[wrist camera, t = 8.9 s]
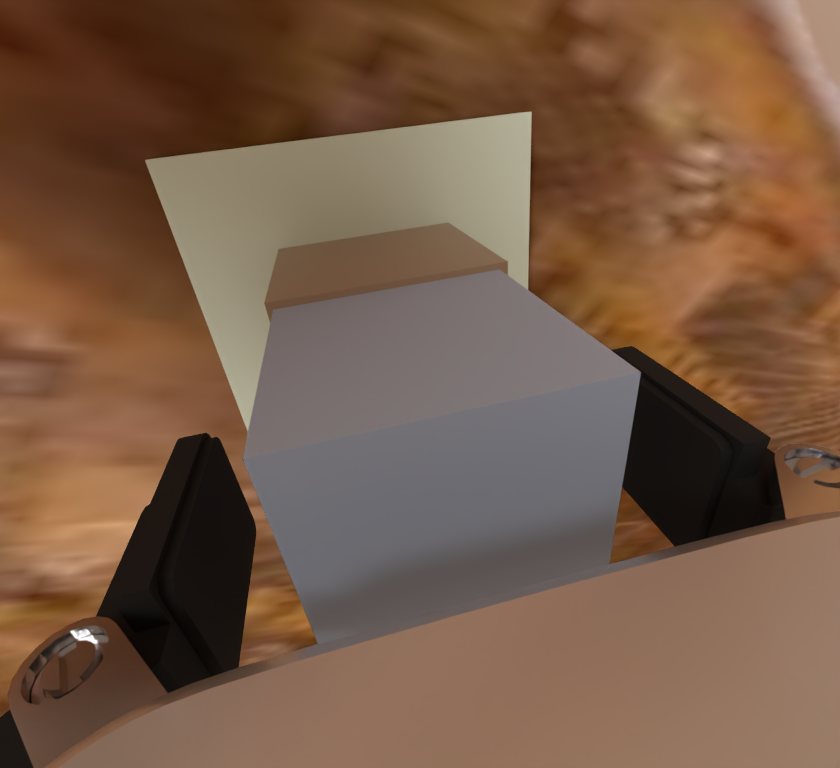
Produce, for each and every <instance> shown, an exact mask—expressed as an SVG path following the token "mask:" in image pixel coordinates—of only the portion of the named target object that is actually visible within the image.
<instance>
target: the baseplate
mask: <svg viewBox="0 0 840 768" xmlns="http://www.w3.org/2000/svg"><path fill="white" fill-rule="evenodd" d="M531 116H532V112H521V113H512V114H504V115H496V116H488V117H480V118H472V119H464V120H456V121H448V122H440V123H433V124H425V125H417V126H409V127H401V128H393V129H385V130H377V131H369V132H361V133H353V134H345V135H337V136H329V137H321V138H313V139H305V140H297V141H289V142H281V143H273V144H265V145H257V146H249V147H241V148H233V149H225V150H217V151H209V152H201V153H193V154H185V155H177V156H169V157H161V158H154V159H148V160H145V162H146V164H147V167H148V170H149V172H150V175H151V178H152V180H153V183H154V186H155V188H156V191H157V194H158V196H159V199H160V201H161V204H162V207H163V209H164V212H165V215H166V217H167V220H168V223H169V225H170V228H171V230H172V233H173V236H174V238H175V241H176V244H177V246H178V249H179V252H180V254H181V257H182V260H183V262H184V265H185V267H186V270H187V273H188V275H189V278H190V281H191V283H192V286H193V289H194V291H195V294H196V296H197V299H198V302H199V304H200V307H201V310H202V312H203V315H204V318H205V320H206V323H207V326H208V328H209V331H210V333H211V336H212V339H213V341H214V344H215V347H216V349H217V352H218V355H219V357H220V360H221V362H222V365H223V368H224V370H225V373H226V376H227V378H228V381H229V384H230V386H231V389H232V392H233V394H234V397H235V399H236V402H237V405H238V407H239V410H240V413H241V415H242V418H243V421H244V423H245V426H246V428H247V431H248V429H249V425H250V420H251V415H252V410H253V405H254V400H255V395H256V391H257V386H258V381H259V376H260V371H261V366H262V361H263V357H264V352H265V347H266V342H267V337H268V332H269V327H270V323H271V318H272V313H273V310H274V309H279V308H285V307H291V306H296V305H302V304H308V303H313V302H319V301H325V300H330V299H336V298H341V297H347V296H353V295H358V294H364V293H370V292H375V291H381V290H387V289H392V288H398V287H403V286H409V285H415V284H420V283H426V282H432V281H437V280H443V279H449V278H454V277H460V276H465V275H471V274H477V273H482V272H488V271H494V270H499V269H500V270H501V271H502V272H504V273H505V274H507V275H508V276H509V277H511V278H512V279H513V280H515V281H516V282H518V283H519V284H520V285H522V286H523V287H524V288H526V289H527V290H528V269H529V218H530V167H531Z"/></svg>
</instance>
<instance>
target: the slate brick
mask: <svg viewBox="0 0 840 768" xmlns="http://www.w3.org/2000/svg"><path fill="white" fill-rule="evenodd" d="M640 376H641V372H640V371H639V370H637V369H636V368H635V367H633V366H632V365H631V364H629V363H628V362H626V361H625V360H624V359H622V358H621V357H620V356H618V355H617V354H615V353H614V352H613V351H611V350H610V349H608V348H607V347H606V346H604V345H603V344H602V343H600V342H599V341H597V340H596V339H595V338H593V337H592V336H591V335H589V334H588V333H586V332H585V331H584V330H582V329H581V328H580V327H578V326H577V325H575V324H574V323H573V322H571V321H570V320H569V319H567V318H566V317H564V316H563V315H562V314H560V313H559V312H558V311H556V310H555V309H553V308H552V307H551V306H549V305H548V304H547V303H545V302H544V301H542V300H541V299H540V298H538V297H537V296H536V295H534V294H533V293H531V292H530V291H529V290H527V289H526V288H524V287H523V286H522V285H520V284H519V283H518V282H516V281H515V280H513V279H512V278H511V277H509V276H508V275H507V274H505V273H504V272H502V271H501V270H500V269H499V270H494V271H488V272H482V273H477V274H471V275H465V276H460V277H454V278H449V279H443V280H437V281H432V282H426V283H420V284H415V285H409V286H403V287H398V288H392V289H387V290H381V291H375V292H370V293H364V294H358V295H353V296H347V297H341V298H336V299H330V300H325V301H319V302H313V303H308V304H302V305H296V306H291V307H285V308H279V309H274V310H273V313H272V318H271V323H270V327H269V332H268V337H267V342H266V347H265V352H264V357H263V361H262V366H261V371H260V376H259V381H258V386H257V391H256V395H255V400H254V405H253V410H252V415H251V420H250V425H249V429H248V434H247V439H246V444H245V449H244V454H243V461H244V464H245V466H246V469H247V471H248V474H249V476H250V479H251V481H252V483H253V486H254V488H255V491H256V493H257V496H258V498H259V501H260V503H261V505H262V508H263V510H264V513H265V515H266V518H267V520H268V523H269V525H270V527H271V530H272V532H273V535H274V537H275V540H276V542H277V545H278V547H279V550H280V552H281V554H282V557H283V559H284V562H285V564H286V567H287V569H288V572H289V574H290V576H291V579H292V581H293V584H294V586H295V589H296V591H297V594H298V596H299V598H300V601H301V603H302V606H303V608H304V611H305V613H306V616H307V618H308V620H309V623H310V625H311V628H312V630H313V633H314V635H315V638H316V640H317V642H318V644H320V643H323V642H327V641H330V640H334V639H338V638H341V637H345V636H348V635H352V634H356V633H359V632H363V631H366V630H370V629H374V628H377V627H381V626H384V625H388V624H392V623H395V622H399V621H403V620H406V619H410V618H413V617H417V616H421V615H424V614H428V613H431V612H435V611H439V610H442V609H446V608H449V607H453V606H457V605H460V604H464V603H468V602H471V601H475V600H479V599H482V598H486V597H490V596H493V595H497V594H501V593H504V592H508V591H512V590H515V589H519V588H523V587H526V586H530V585H534V584H537V583H541V582H545V581H549V580H552V579H556V578H560V577H563V576H567V575H571V574H574V573H578V572H582V571H585V570H589V569H593V568H597V567H600V566H604V565H608V564H609V562H610V556H611V550H612V544H613V538H614V532H615V526H616V520H617V514H618V508H619V502H620V496H621V490H622V484H623V478H624V472H625V466H626V460H627V454H628V448H629V442H630V436H631V430H632V424H633V418H634V412H635V406H636V400H637V394H638V388H639V382H640Z"/></svg>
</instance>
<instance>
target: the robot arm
mask: <svg viewBox="0 0 840 768" xmlns="http://www.w3.org/2000/svg"><path fill="white" fill-rule="evenodd" d="M611 351H613V352H614V353H615V354H617V355H618V356H620V357H621V358H622V359H624V360H625V361H626V362H628V363H629V364H631V365H632V366H633V367H635V368H636V369H637V370H639V371H640V372H641V376H640V382H639V388H638V394H637V400H636V406H635V412H634V418H633V424H632V430H631V436H630V442H629V448H628V454H627V460H626V466H625V472H624V478H623V484H622V487H623V488H624V489H625V490H626V491H627V493H628V494H629V495H630V496H631V497H632V498H633V499H634V500H635V502H636V503H637V504H638V505H639V506H640V507H641V508H642V510H643V511H644V512H645V513H646V514H647V515H648V516H649V518H650V519H651V520H652V521H653V522H654V523H655V524H656V525H657V527H658V528H659V529H660V530H661V531H662V532H663V533H664V535H665V536H666V537H667V538H668V539H669V540H670V541H671V543H672V544H673V545H674V546H675V547H672V548H668V549H664V550H661V551H657V552H653V553H649V554H646V555H642V556H638V557H634V558H630V559H627V560H623V561H619V562H615V563H612V564H608V565H604V566H600V567H597V568H593V569H589V570H585V571H582V572H578V573H574V574H571V575H567V576H563V577H560V578H556V579H552V580H549V581H545V582H541V583H537V584H534V585H530V586H526V587H523V588H519V589H515V590H512V591H508V592H504V593H501V594H497V595H493V596H490V597H486V598H482V599H479V600H475V601H471V602H468V603H464V604H460V605H457V606H453V607H449V608H446V609H442V610H439V611H435V612H431V613H428V614H424V615H421V616H417V617H413V618H410V619H406V620H403V621H399V622H395V623H392V624H388V625H384V626H381V627H377V628H374V629H370V630H366V631H363V632H359V633H356V634H352V635H348V636H345V637H341V638H338V639H334V640H330V641H327V642H323V643H320V644H317V645H313V646H310V647H306V648H303V649H300V650H296V651H293V652H289V653H286V654H283V655H279V656H276V657H272V658H269V659H266V660H262V661H259V662H256V663H252V664H249V665H245V666H242V667H239V659H240V652H241V644H242V637H243V629H244V622H245V614H246V607H247V599H248V592H249V584H250V577H251V569H252V562H253V554H254V547H255V539H256V526H255V522H254V519H253V516H252V514H251V512H250V509H249V507H248V505H247V502H246V500H245V497H244V495H243V493H242V490H241V488H240V486H239V483H238V481H237V479H236V476H235V474H234V471H233V469H232V467H231V464H230V462H229V460H228V457H227V455H226V453H225V450H224V448H223V445H222V443H221V441H220V439H219V438H217V437H215V438H211V437H210V435H209V434H207V433H203V434H198V435H193V436H188V437H183V438H180V439H178V441H177V442H176V445H175V447H174V449H173V452H172V454H171V456H170V459H169V461H168V463H167V466H166V468H165V470H164V473H163V475H162V477H161V480H160V482H159V484H158V487H157V489H156V491H155V494H154V496H153V498H152V501H151V503H150V504H149V505H148V506H146V507H145V509H144V510H143V512H142V513H141V516H140V518H139V520H138V522H137V525H136V527H135V529H134V532H133V534H132V536H131V538H130V541H129V543H128V545H127V547H126V550H125V552H124V554H123V556H122V559H121V561H120V563H119V566H118V568H117V570H116V572H115V575H114V577H113V579H112V581H111V584H110V586H109V588H108V591H107V593H106V595H105V597H104V600H103V602H102V604H101V606H100V609H99V611H98V613H97V615H96V617H90V618H85V619H82V620H79V621H77V622H74V623H72V624H69V625H67V626H66V627H64V628H62V629H61V630H59V631H57V632H56V633H54V634H53V635H51V636H50V637H49V638H47V639H46V640H45V641H44V642H43V643H41V644H40V645H39V646H38V647H37V648H36V649H35V650H34V651H33V652H32V653H31V654H30V655H29V656H28V658H27V659H26V660H25V661H24V662H23V663H22V665H21V666H20V668H19V670H18V671H17V673H16V674H15V676H14V678H13V679H12V682H11V685H10V689H9V692H8V703H9V708H10V710H9V711H8V712H6V713H5V714H4V715H3V716H2V717H0V768H840V452H838V451H835V450H833V449H830V448H827V447H822V446H818V445H814V444H804V443H796V444H788V445H785V446H782V447H780V448H779V449H778V450H777V451H776V452H775V453H773V452H772V451H770V450H769V449H767V446H768V443H769V441H770V437H769V436H767V435H766V434H764V433H763V432H761V431H760V430H758V429H757V428H755V427H754V426H752V425H751V424H749V423H748V422H746V421H745V420H743V419H742V418H740V417H739V416H737V415H736V414H734V413H732V412H731V411H729V410H728V409H726V408H725V407H723V406H722V405H720V404H719V403H717V402H716V401H714V400H713V399H711V398H710V397H708V396H707V395H705V394H704V393H702V392H701V391H699V390H698V389H696V388H695V387H693V386H692V385H690V384H689V383H687V382H686V381H684V380H683V379H681V378H680V377H678V376H677V375H675V374H674V373H672V372H671V371H669V370H668V369H666V368H665V367H663V366H662V365H660V364H659V363H657V362H656V361H654V360H653V359H651V358H650V357H648V356H647V355H645V354H644V353H642V352H641V351H639V350H638V349H636V348H634V347H632V346H630V347H624V348H619V349H614V350H611ZM238 667H239V668H238Z"/></svg>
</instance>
